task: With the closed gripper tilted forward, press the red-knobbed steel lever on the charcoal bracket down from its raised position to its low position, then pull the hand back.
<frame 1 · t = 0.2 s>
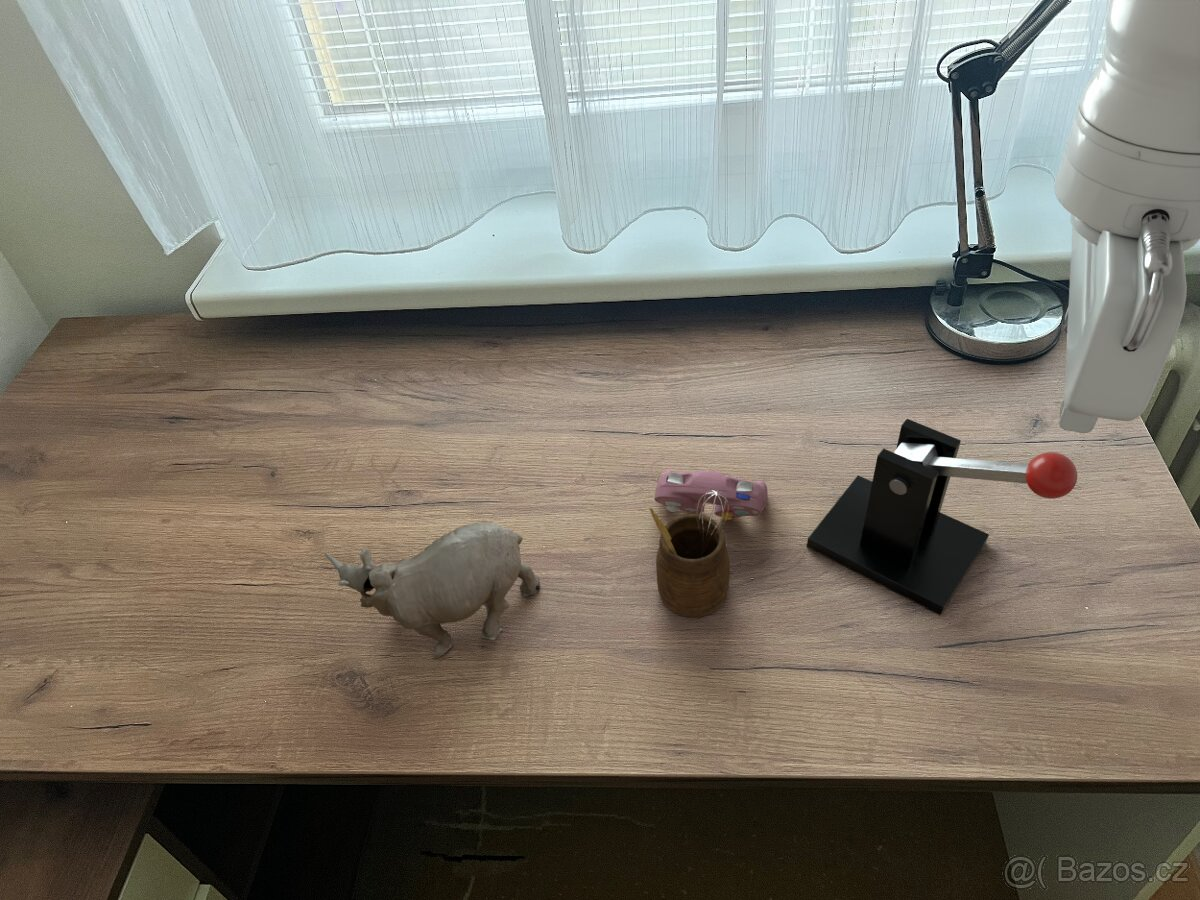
hand: (1076, 374, 55), 23 cm above the table, tool pointing down, fingers open, 8 cm apart
rhinoceros figurine: (444, 618, 74), on the table
lever: (980, 469, 64), point 12 cm above the table, hinge at 25.0°
bracket: (895, 545, 75), on the table
utensil holder: (691, 592, 73), on the table
pink toy car: (711, 512, 79), on the table
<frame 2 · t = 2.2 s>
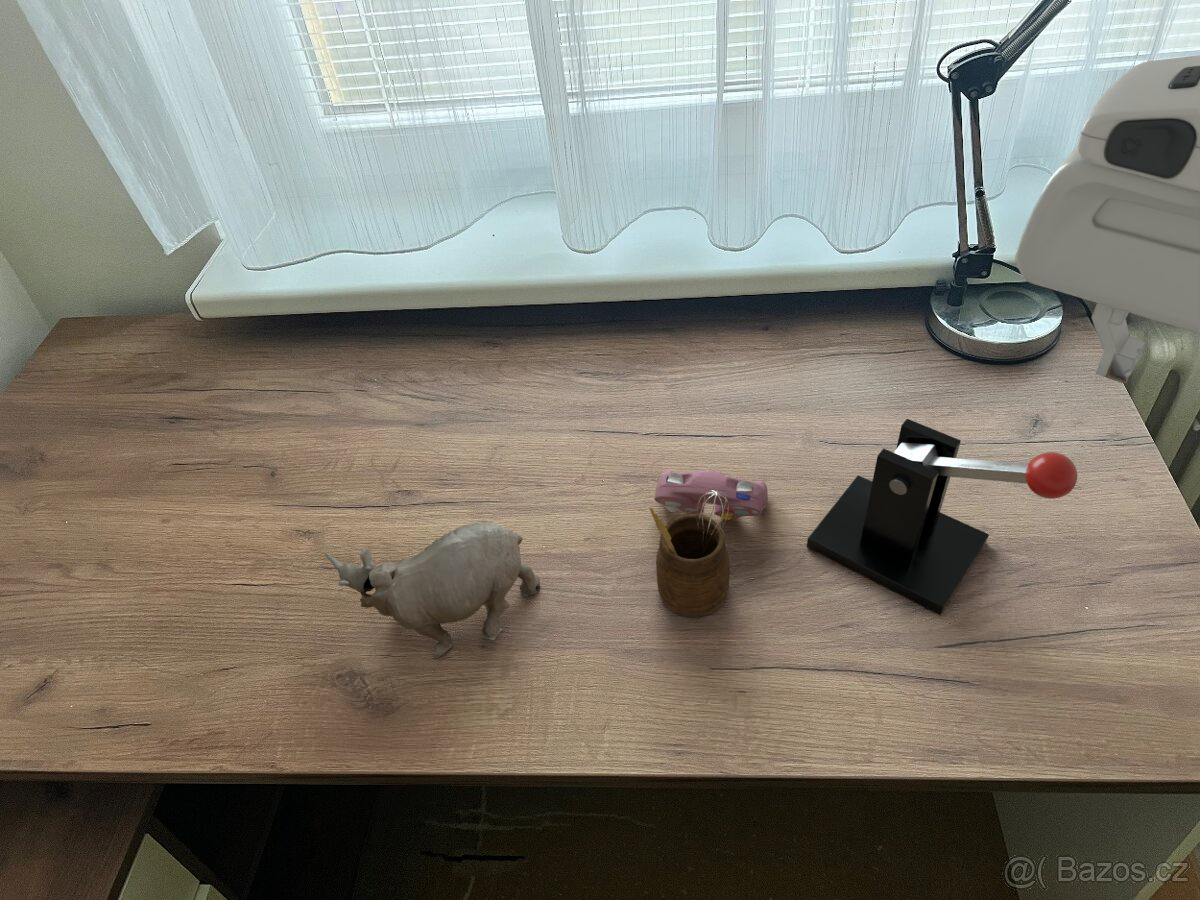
hand: (1199, 402, 43), 29 cm above the table, tool pointing down, fingers open, 7 cm apart
nothing on the table moved.
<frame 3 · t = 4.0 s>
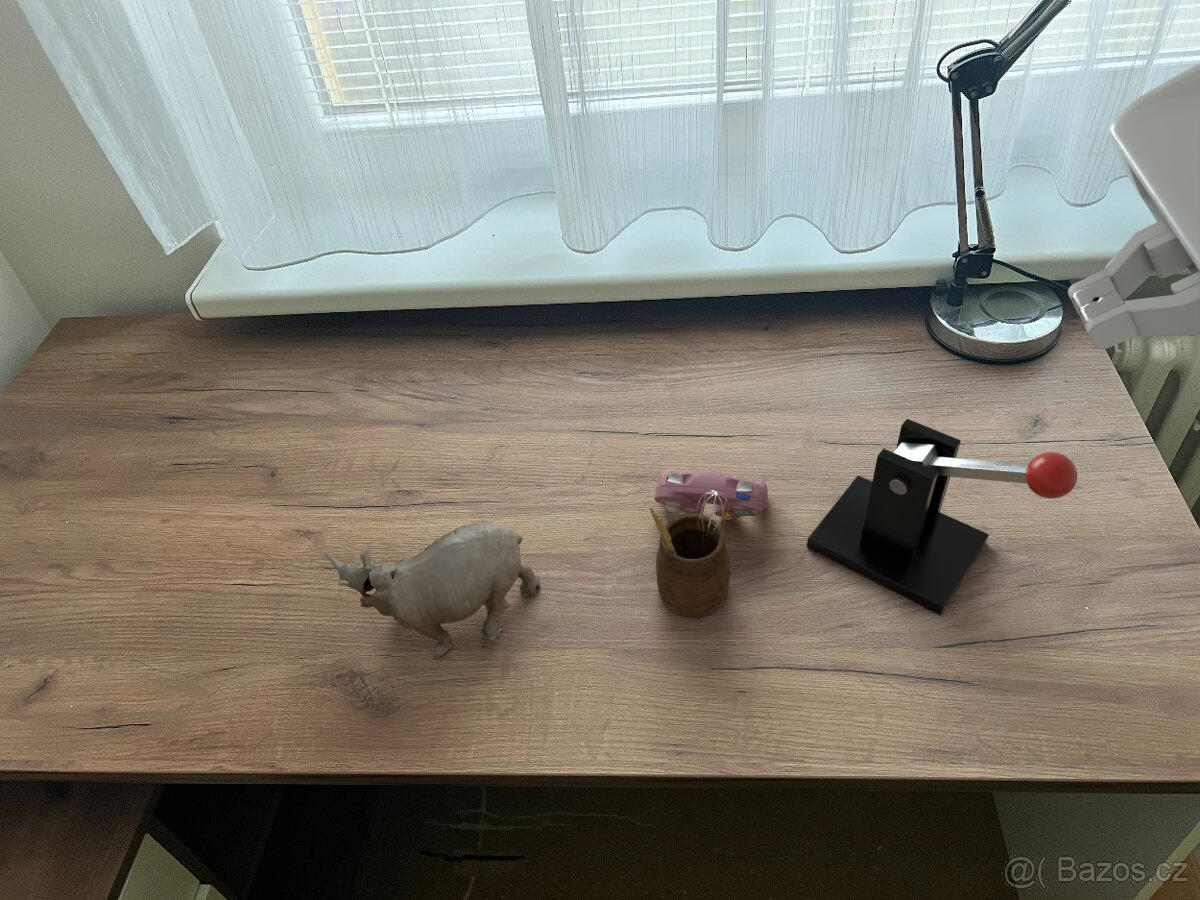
hand: (1081, 320, 40), 35 cm above the table, tool tilted 55°, fingers closed
nothing on the table moved.
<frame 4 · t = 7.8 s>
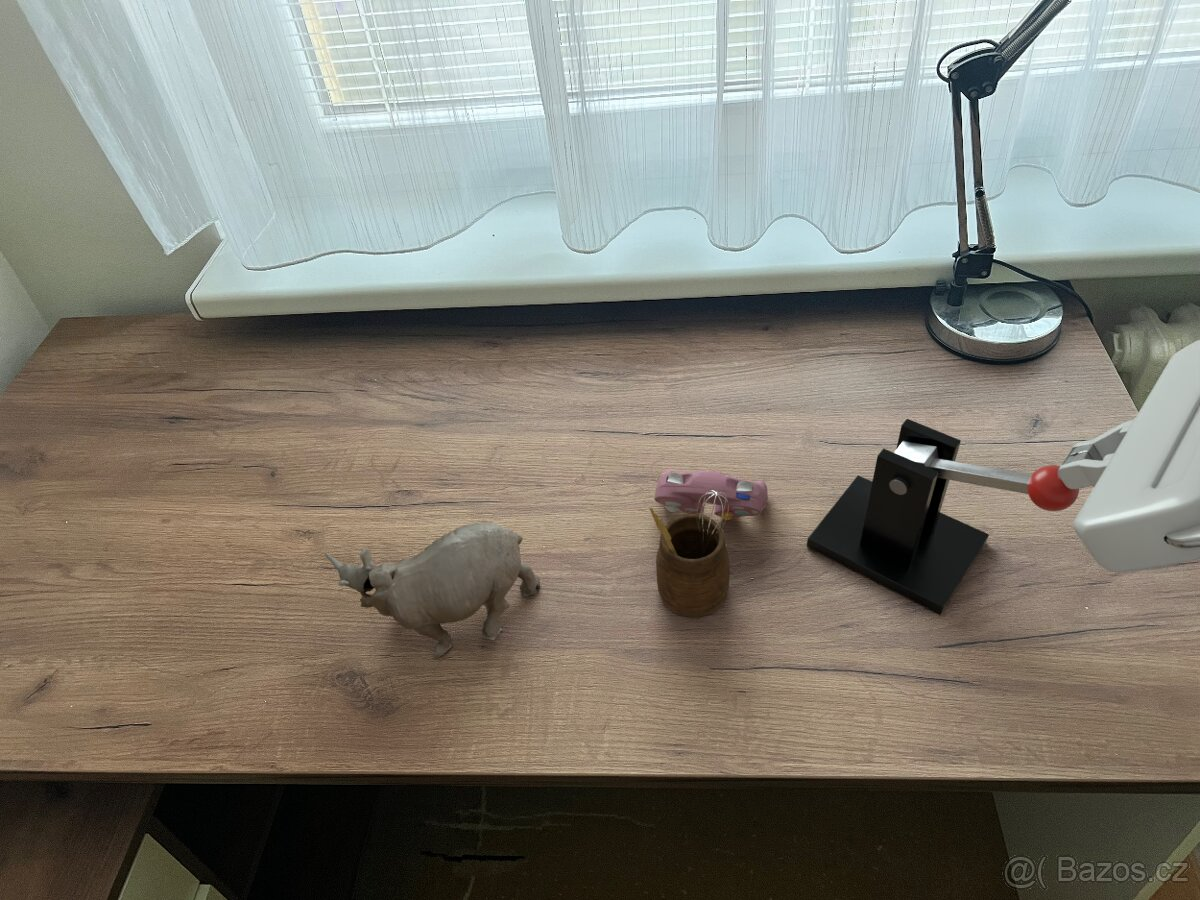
hand: (1069, 467, 60), 15 cm above the table, tool tilted 45°, fingers closed
lever: (981, 475, 64), point 12 cm above the table, hinge at 18.5°, touching gripper
everything else where it was.
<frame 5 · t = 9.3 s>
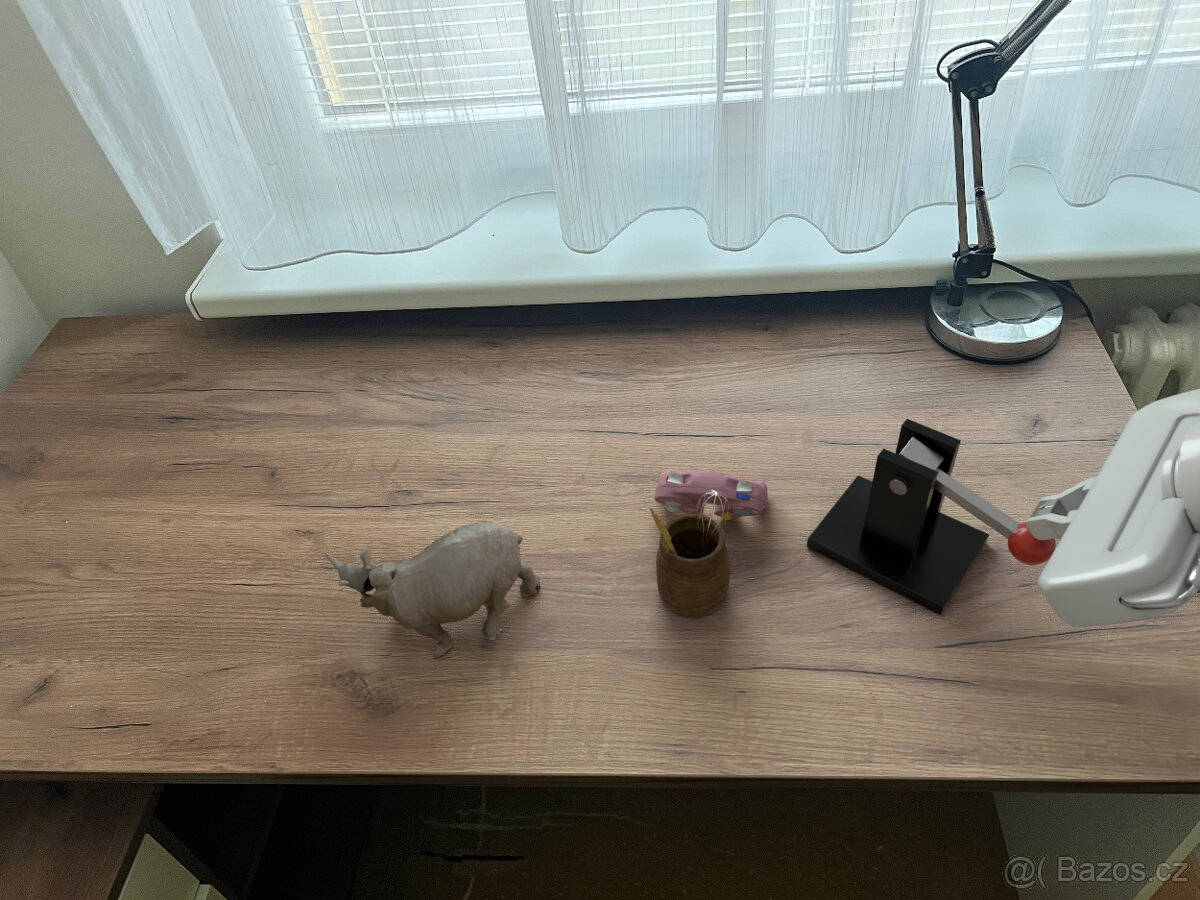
hand: (1037, 519, 64), 9 cm above the table, tool tilted 45°, fingers closed
lever: (973, 503, 66), point 9 cm above the table, hinge at -16.6°, touching gripper
everything else where it was.
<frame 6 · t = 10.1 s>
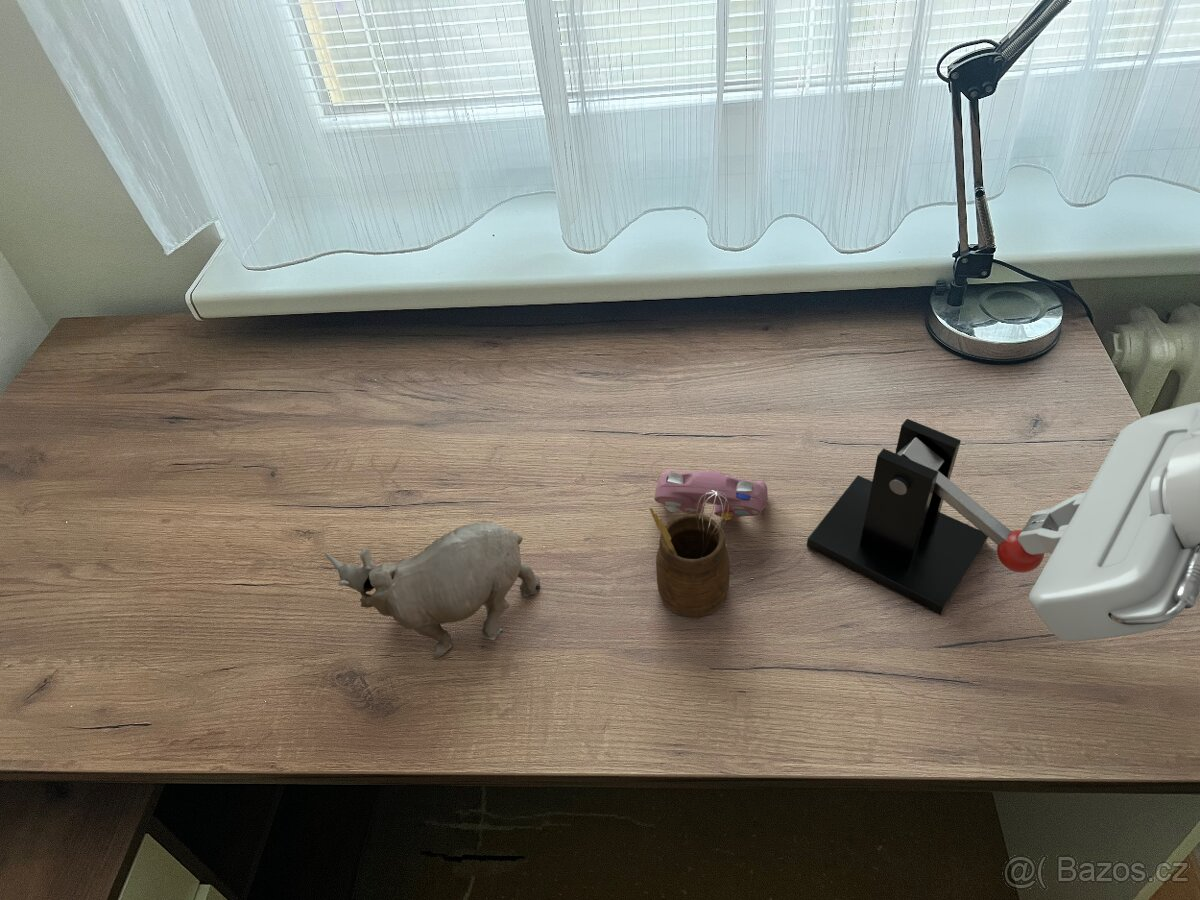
hand: (1028, 533, 64), 8 cm above the table, tool tilted 45°, fingers closed
lever: (968, 508, 67), point 8 cm above the table, hinge at -24.5°
everything else where it was.
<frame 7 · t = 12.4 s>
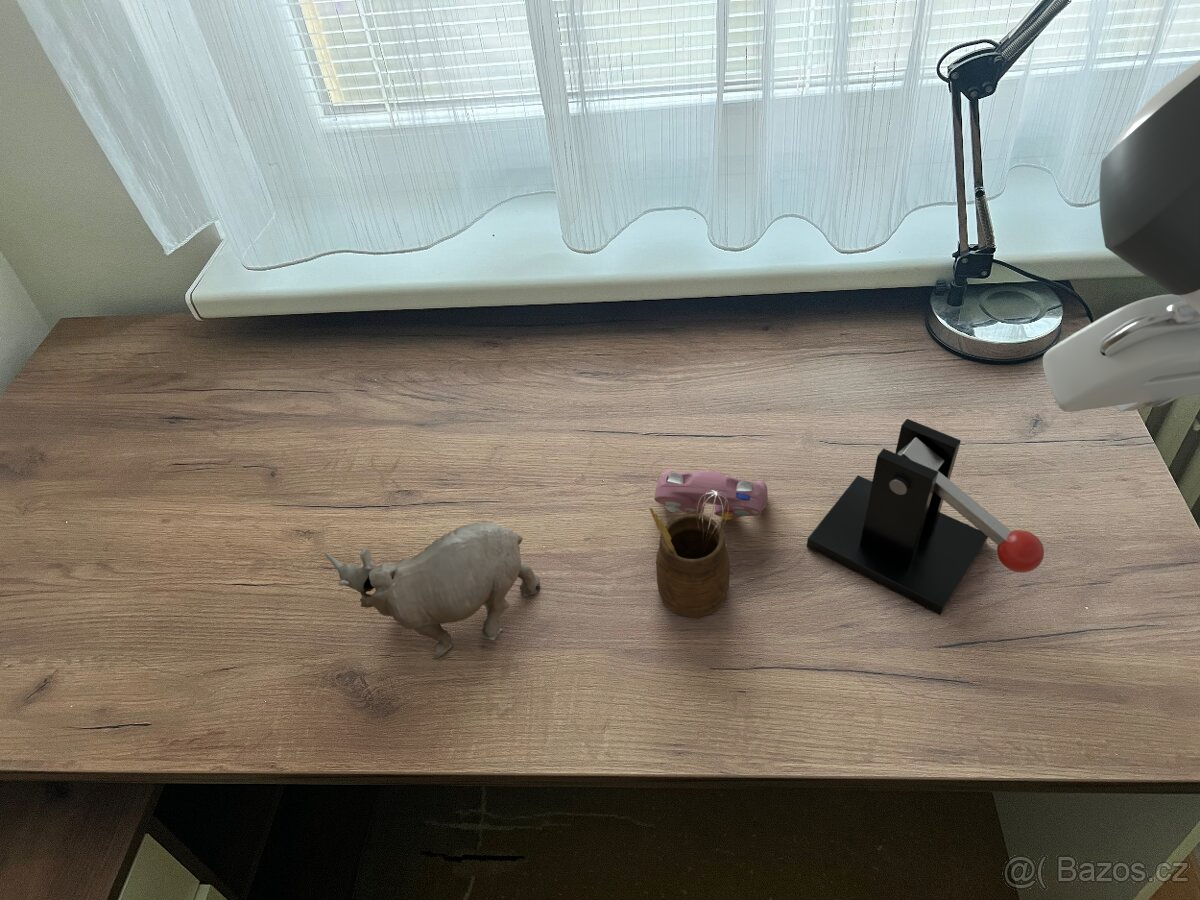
hand: (1132, 398, 56), 21 cm above the table, tool tilted 30°, fingers closed
nothing on the table moved.
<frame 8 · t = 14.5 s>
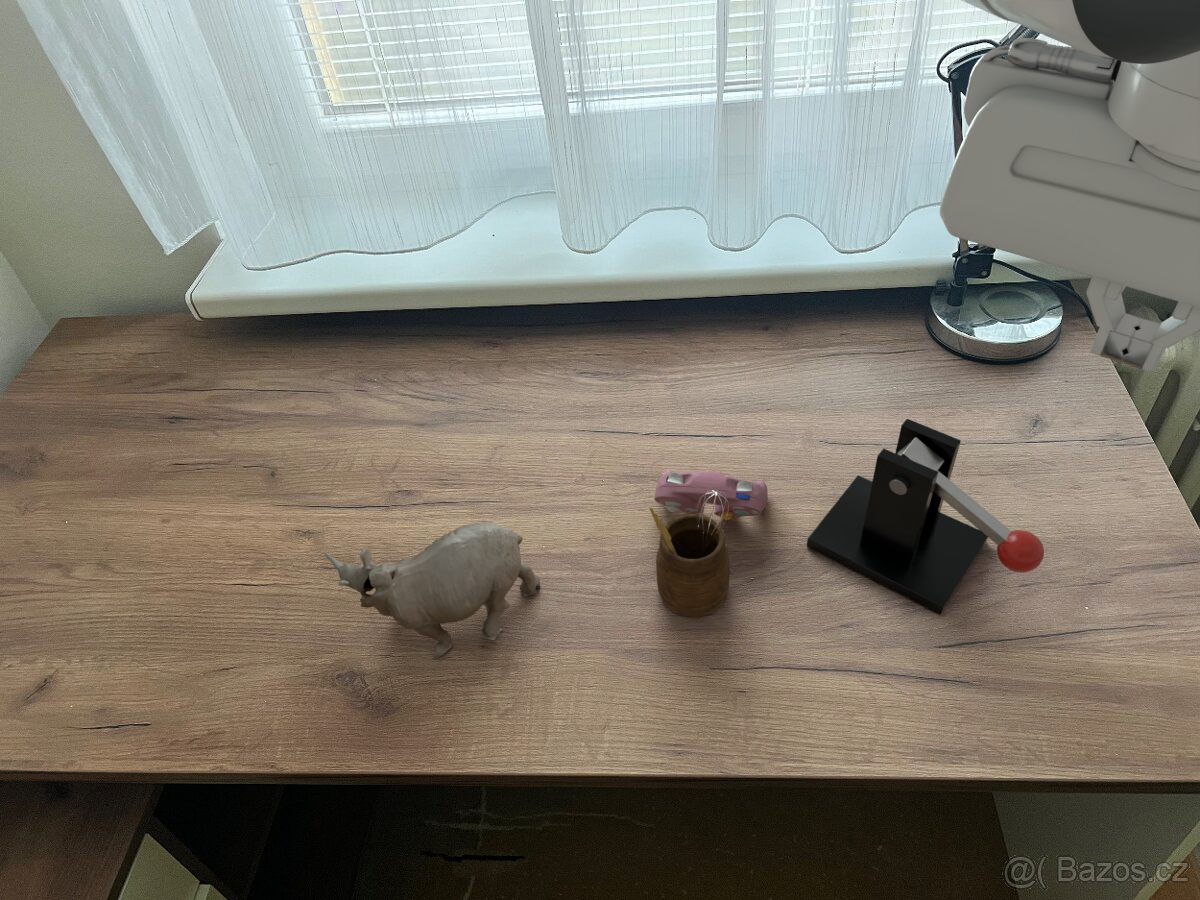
hand: (1124, 356, 43), 31 cm above the table, tool pointing down, fingers closed
nothing on the table moved.
at the end: lever at -24° (first picture: +25°); pink toy car moved 0.2 cm from its start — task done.
